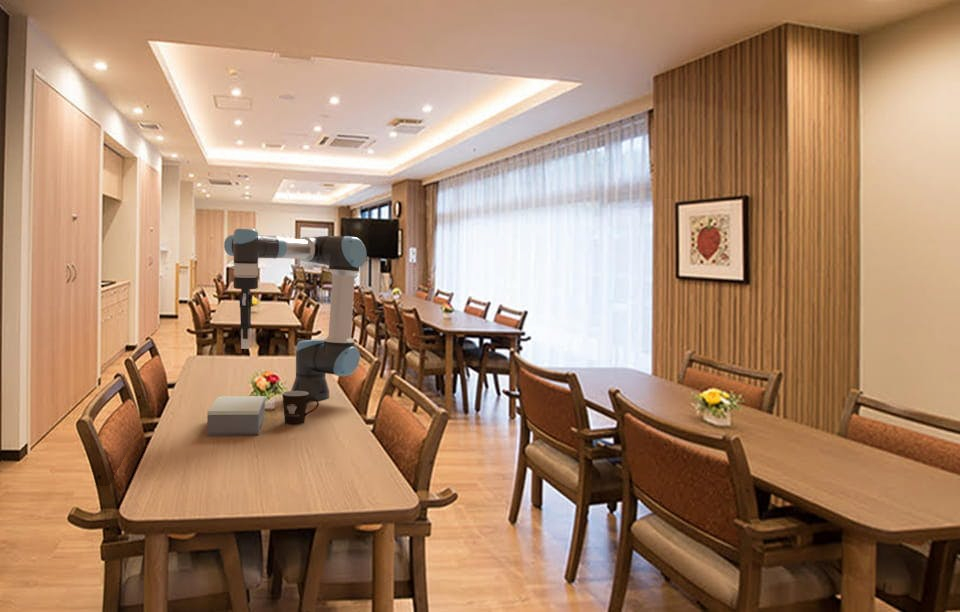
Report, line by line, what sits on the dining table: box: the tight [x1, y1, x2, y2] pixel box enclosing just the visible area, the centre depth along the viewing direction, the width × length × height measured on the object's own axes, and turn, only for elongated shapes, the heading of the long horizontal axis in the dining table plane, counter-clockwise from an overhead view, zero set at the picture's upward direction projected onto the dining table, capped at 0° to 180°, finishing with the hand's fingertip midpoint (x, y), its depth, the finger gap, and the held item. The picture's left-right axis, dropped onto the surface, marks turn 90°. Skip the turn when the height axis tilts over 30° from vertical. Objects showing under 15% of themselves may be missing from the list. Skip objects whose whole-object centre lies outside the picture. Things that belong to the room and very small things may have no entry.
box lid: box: [206, 395, 266, 415], centre depth 216 cm, size 15×22×1 cm
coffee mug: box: [281, 390, 320, 426], centre depth 225 cm, size 12×9×10 cm
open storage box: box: [206, 400, 266, 437], centre depth 217 cm, size 15×22×6 cm
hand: (245, 348), depth 218 cm, fingers closed
